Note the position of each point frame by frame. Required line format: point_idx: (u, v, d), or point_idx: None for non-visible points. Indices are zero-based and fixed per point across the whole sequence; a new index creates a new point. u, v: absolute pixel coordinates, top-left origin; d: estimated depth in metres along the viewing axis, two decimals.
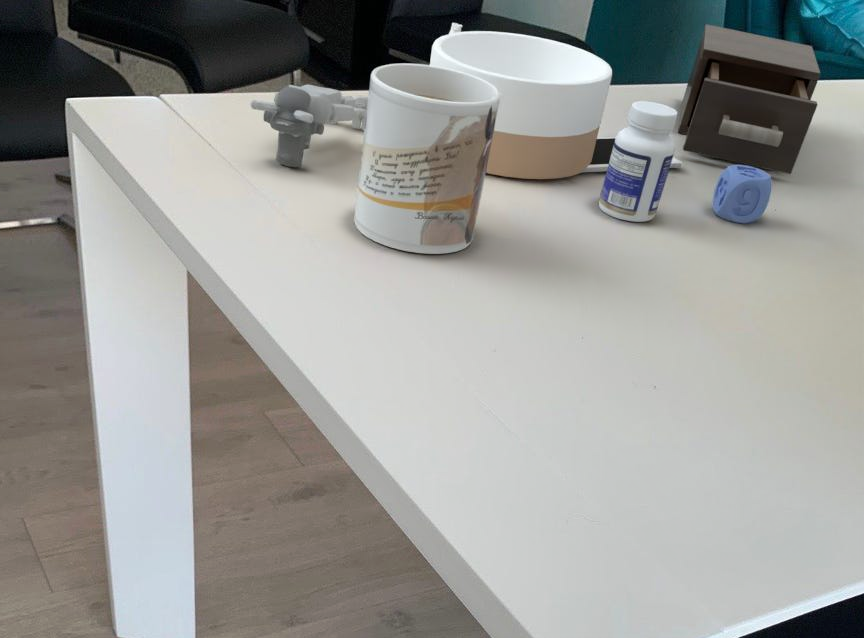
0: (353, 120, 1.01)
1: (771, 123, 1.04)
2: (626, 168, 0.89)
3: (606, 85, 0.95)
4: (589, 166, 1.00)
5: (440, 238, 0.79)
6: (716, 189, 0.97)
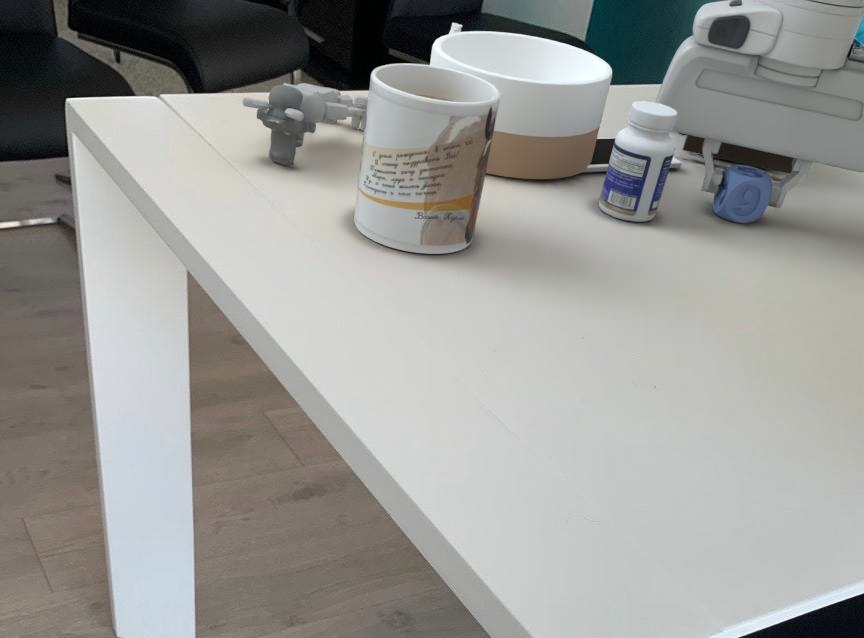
0: (352, 120, 1.01)
1: None
2: (626, 168, 0.89)
3: (606, 85, 0.95)
4: (589, 166, 1.00)
5: (440, 238, 0.79)
6: None
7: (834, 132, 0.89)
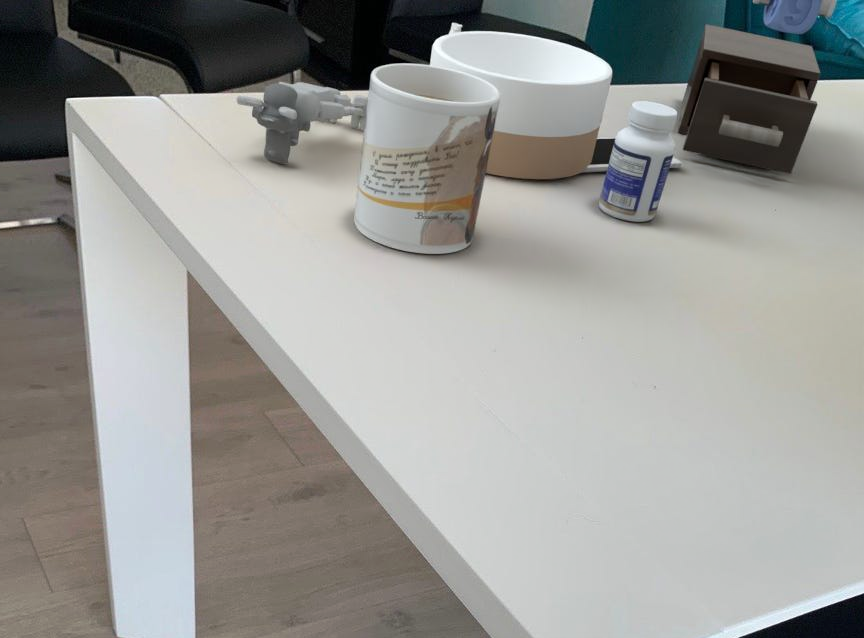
0: (351, 120, 1.01)
1: (771, 123, 1.04)
2: (626, 168, 0.89)
3: (606, 85, 0.95)
4: (589, 166, 1.00)
5: (440, 238, 0.79)
6: None
7: None
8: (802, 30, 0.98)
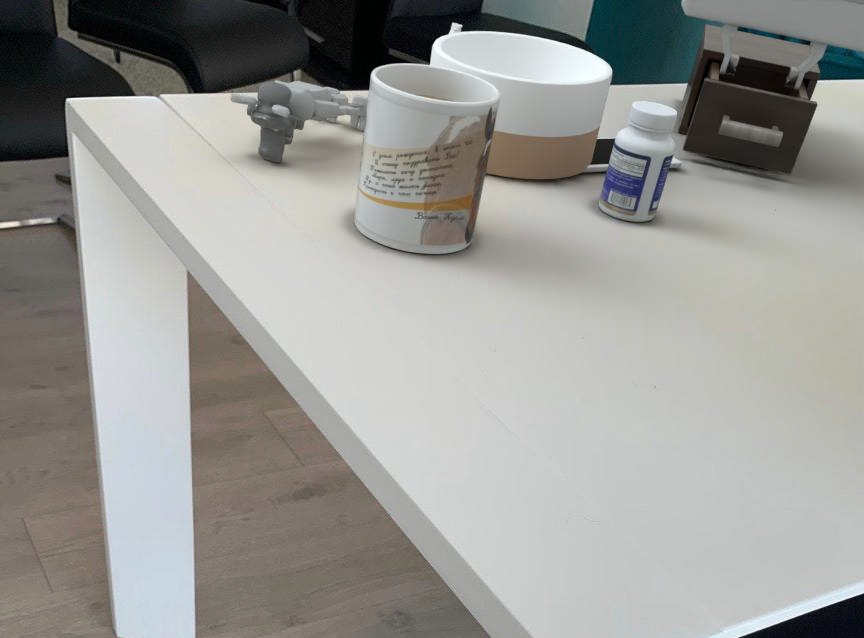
0: (351, 119, 1.01)
1: (771, 123, 1.04)
2: (626, 168, 0.89)
3: (606, 85, 0.95)
4: (589, 166, 1.00)
5: (440, 238, 0.79)
6: None
7: (843, 15, 1.01)
8: None
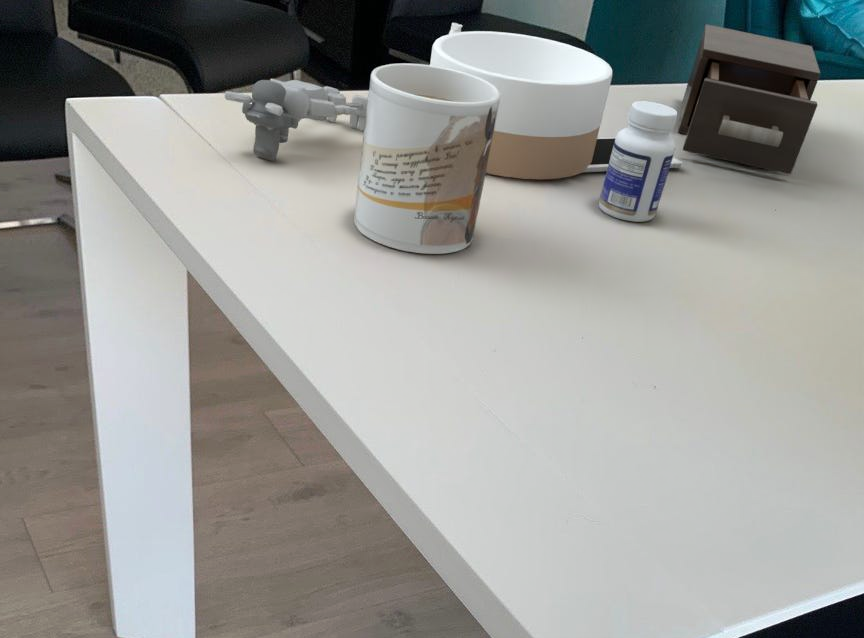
0: (350, 119, 1.01)
1: (771, 123, 1.04)
2: (626, 168, 0.89)
3: (606, 85, 0.95)
4: (589, 166, 1.00)
5: (440, 238, 0.79)
6: None
7: None
8: None
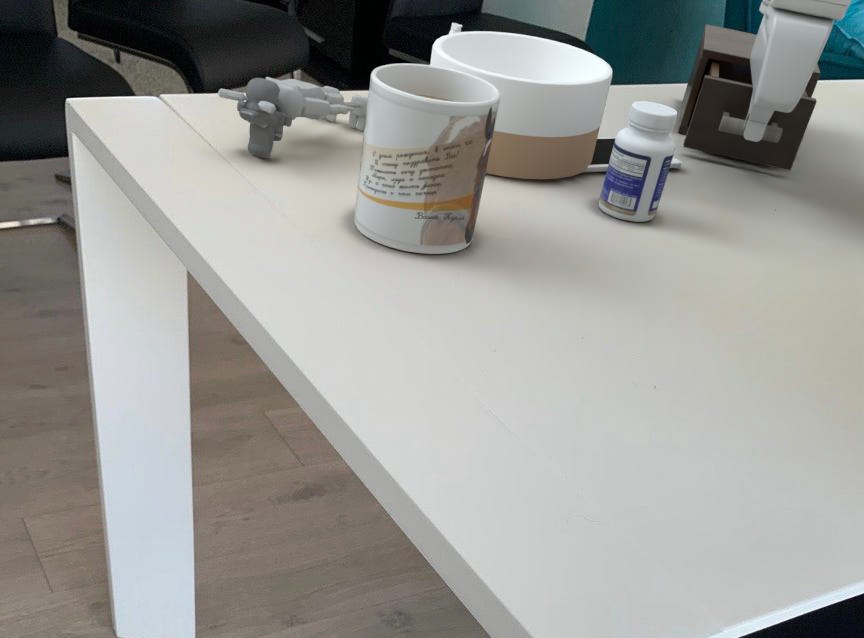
0: (349, 119, 1.01)
1: (771, 120, 1.05)
2: (626, 168, 0.89)
3: (606, 85, 0.95)
4: (589, 166, 1.00)
5: (440, 238, 0.79)
6: None
7: None
8: None
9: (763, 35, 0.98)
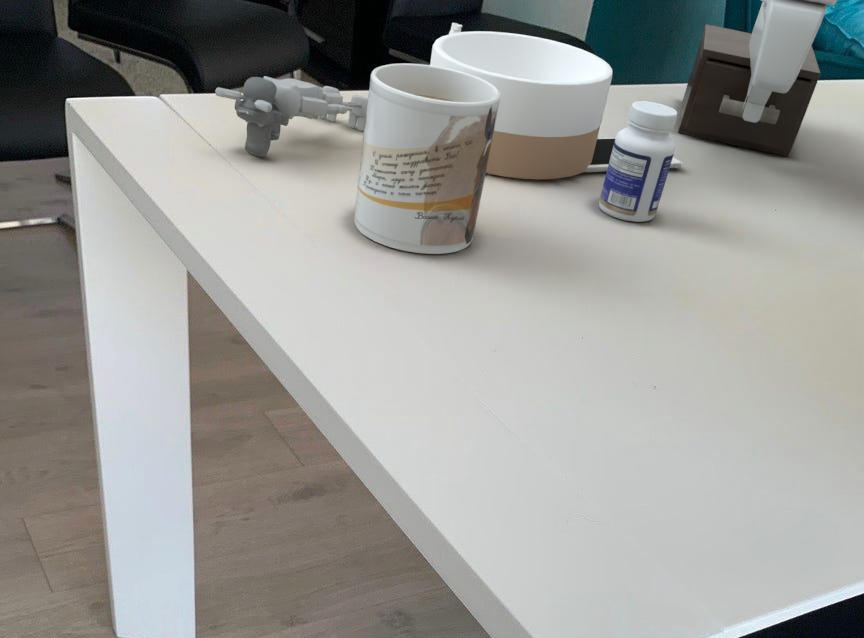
0: (349, 119, 1.01)
1: (768, 102, 1.11)
2: (626, 168, 0.89)
3: (606, 85, 0.95)
4: (589, 166, 1.00)
5: (440, 238, 0.79)
6: None
7: None
8: None
9: (761, 21, 1.04)
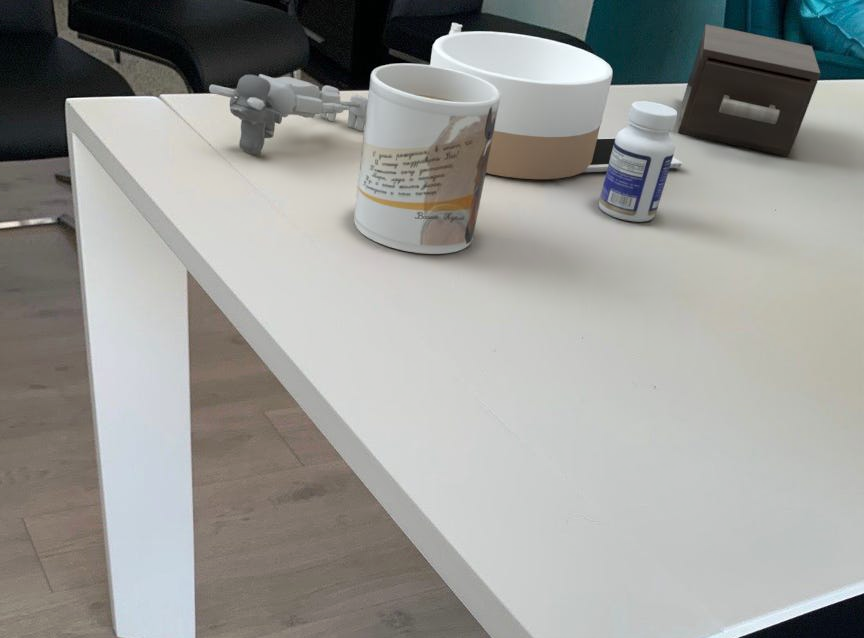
0: (348, 119, 1.01)
1: (768, 102, 1.11)
2: (626, 168, 0.89)
3: (606, 85, 0.95)
4: (589, 166, 1.00)
5: (440, 238, 0.79)
6: None
7: None
8: None
9: None
